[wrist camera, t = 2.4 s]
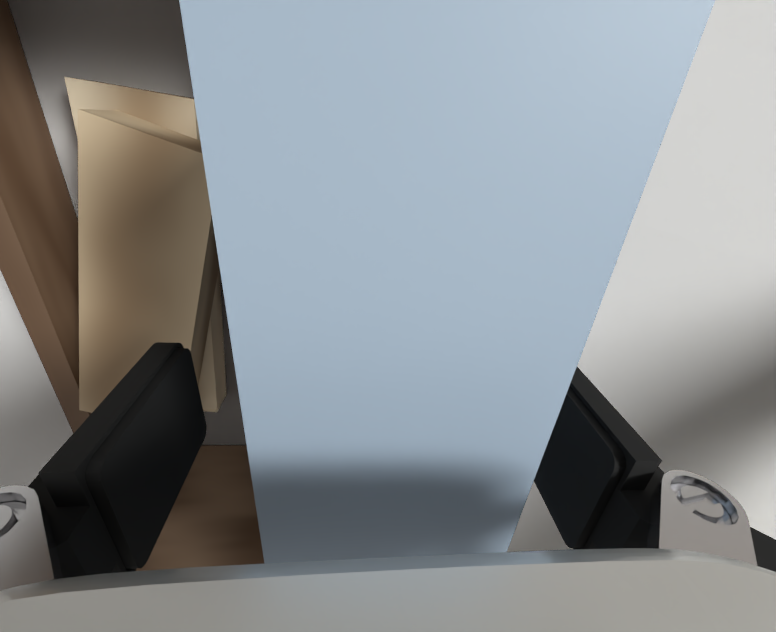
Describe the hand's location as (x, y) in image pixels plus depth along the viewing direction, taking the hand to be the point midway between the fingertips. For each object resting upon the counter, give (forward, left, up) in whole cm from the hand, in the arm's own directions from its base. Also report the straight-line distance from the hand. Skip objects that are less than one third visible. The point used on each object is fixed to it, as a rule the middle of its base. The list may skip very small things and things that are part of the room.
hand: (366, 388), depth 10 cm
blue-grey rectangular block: (0, 0, -8) cm, 8 cm away
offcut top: (+8, 0, -7) cm, 11 cm away
